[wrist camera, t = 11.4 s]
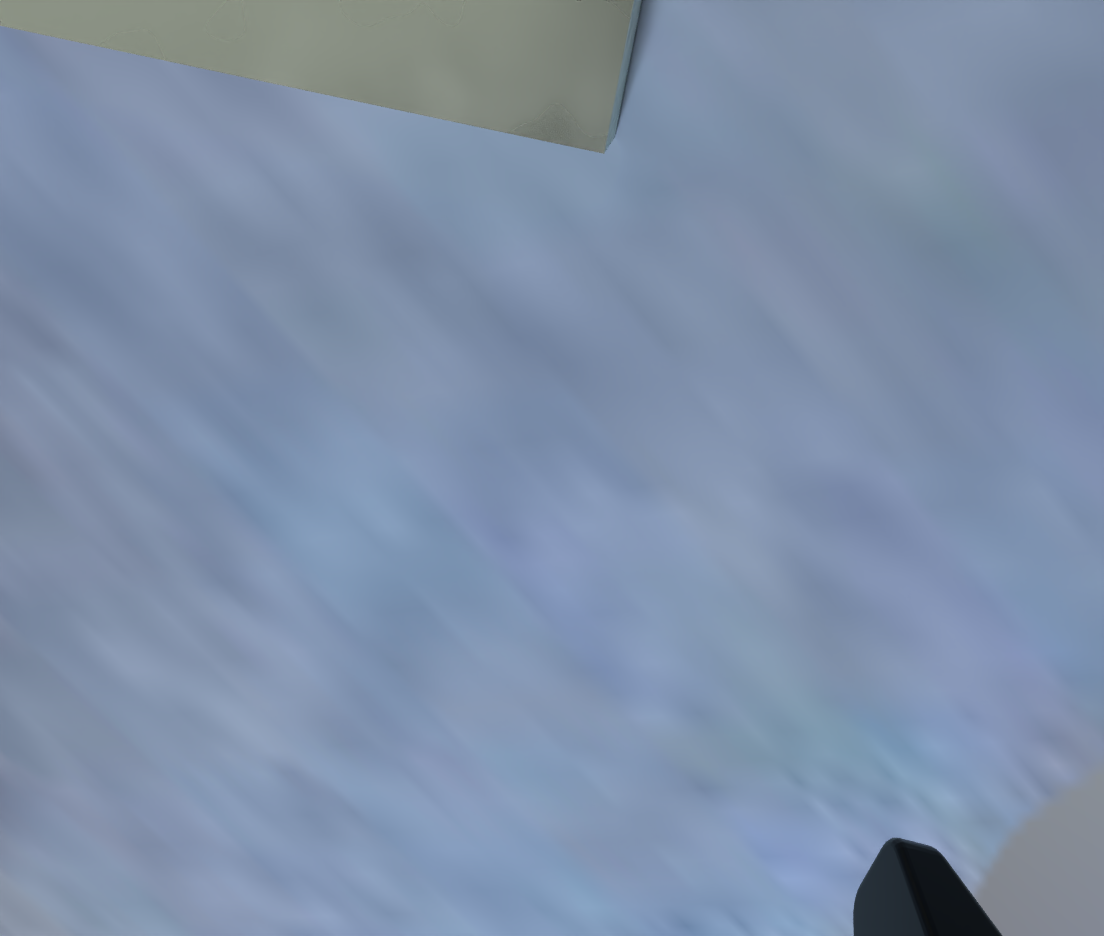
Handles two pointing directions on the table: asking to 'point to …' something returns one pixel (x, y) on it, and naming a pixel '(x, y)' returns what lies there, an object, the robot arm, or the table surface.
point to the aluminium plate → (388, 52)
